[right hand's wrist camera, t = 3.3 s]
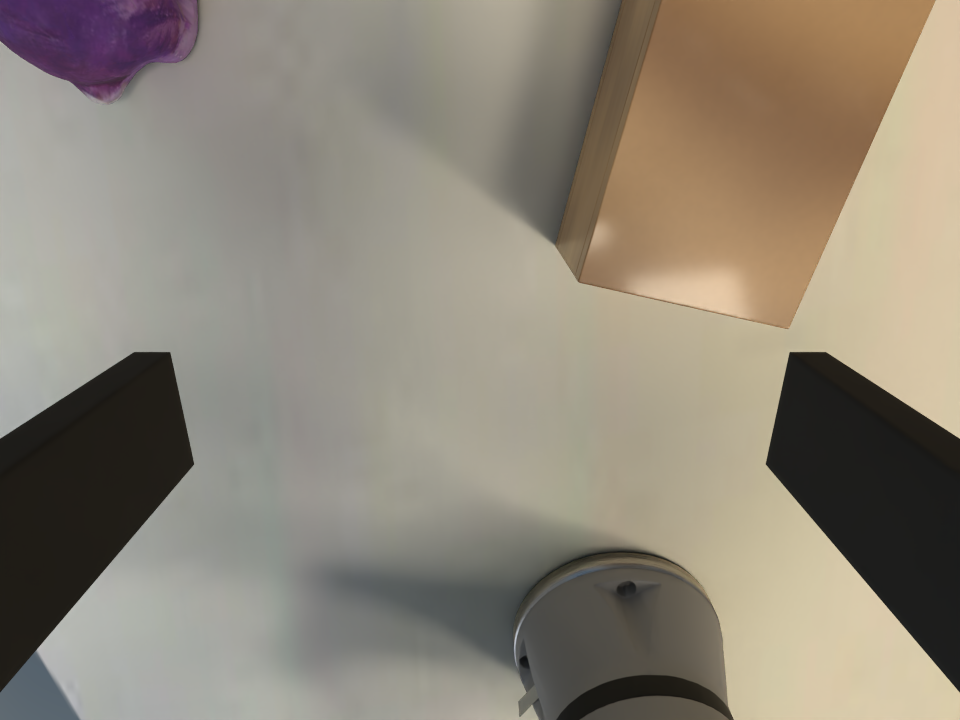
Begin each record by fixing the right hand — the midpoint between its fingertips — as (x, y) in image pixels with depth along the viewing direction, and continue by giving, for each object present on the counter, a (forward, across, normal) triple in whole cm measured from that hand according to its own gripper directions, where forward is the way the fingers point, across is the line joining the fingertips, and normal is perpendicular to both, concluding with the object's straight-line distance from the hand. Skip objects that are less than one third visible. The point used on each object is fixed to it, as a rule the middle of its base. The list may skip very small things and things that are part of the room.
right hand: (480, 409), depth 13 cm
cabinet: (+22, -11, -7) cm, 26 cm away
